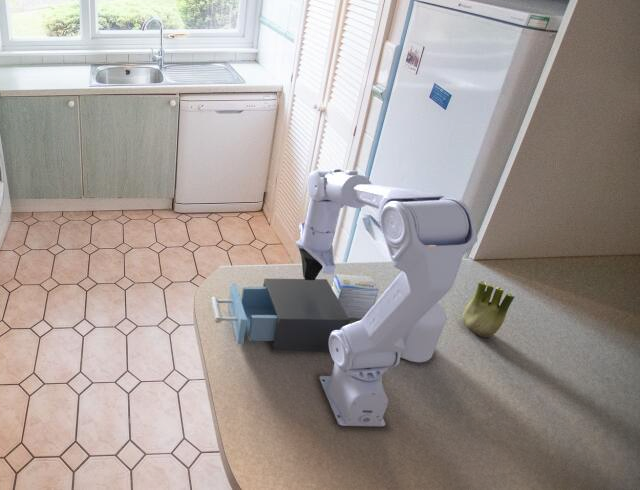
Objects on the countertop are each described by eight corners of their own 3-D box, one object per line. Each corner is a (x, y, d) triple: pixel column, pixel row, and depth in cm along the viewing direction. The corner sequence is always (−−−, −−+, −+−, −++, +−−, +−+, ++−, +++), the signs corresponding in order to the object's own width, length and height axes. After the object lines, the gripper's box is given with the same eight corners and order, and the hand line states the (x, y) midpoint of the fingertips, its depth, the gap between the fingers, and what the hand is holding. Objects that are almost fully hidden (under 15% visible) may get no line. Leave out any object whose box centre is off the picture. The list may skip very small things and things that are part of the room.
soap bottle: (439, 367, 88) (481, 267, 78) (389, 359, 90) (423, 260, 79) (422, 331, 96) (458, 236, 86) (376, 324, 98) (405, 231, 87)
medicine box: (363, 305, 103) (371, 275, 99) (370, 320, 99) (380, 290, 95) (327, 303, 104) (334, 273, 100) (333, 317, 100) (341, 287, 96)
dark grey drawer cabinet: (273, 350, 92) (279, 318, 88) (259, 308, 102) (264, 278, 99) (340, 351, 92) (349, 319, 88) (319, 308, 102) (326, 279, 98)
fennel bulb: (498, 338, 95) (519, 294, 89) (480, 343, 93) (500, 299, 88) (472, 318, 100) (490, 275, 95) (454, 323, 98) (472, 280, 93)
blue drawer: (215, 344, 92) (218, 319, 89) (207, 306, 101) (210, 282, 99) (299, 345, 92) (304, 320, 89) (283, 307, 101) (288, 283, 98)
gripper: (289, 205, 97) (280, 256, 103) (313, 246, 84) (301, 302, 90) (322, 205, 97) (311, 256, 103) (351, 247, 84) (337, 303, 89)
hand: (308, 278), depth 96 cm, fingers closed
